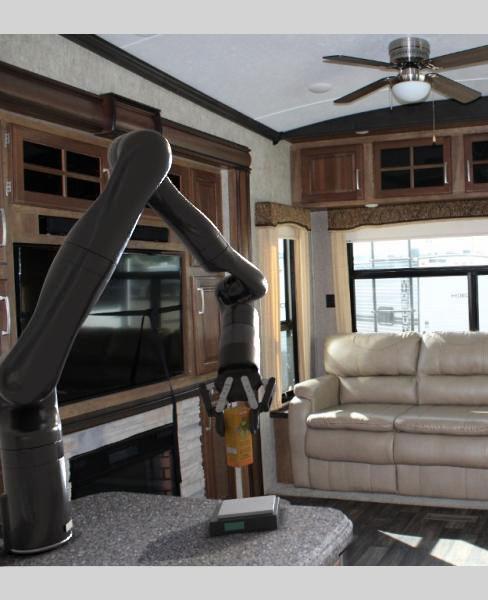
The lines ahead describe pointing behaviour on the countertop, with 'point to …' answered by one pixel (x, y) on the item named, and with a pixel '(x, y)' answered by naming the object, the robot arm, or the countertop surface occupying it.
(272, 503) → the scale
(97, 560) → the countertop surface
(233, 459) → the supplement box
